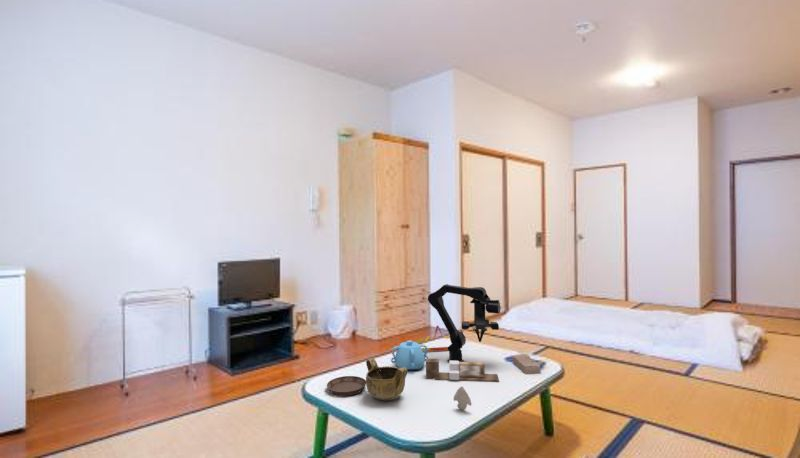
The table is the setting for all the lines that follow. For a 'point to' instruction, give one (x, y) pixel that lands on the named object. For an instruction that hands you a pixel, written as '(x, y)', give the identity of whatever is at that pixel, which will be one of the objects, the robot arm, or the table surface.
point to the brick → (526, 364)
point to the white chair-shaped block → (454, 370)
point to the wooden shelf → (434, 373)
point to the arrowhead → (462, 398)
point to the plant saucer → (346, 385)
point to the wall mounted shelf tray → (471, 369)
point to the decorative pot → (409, 355)
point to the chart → (438, 349)
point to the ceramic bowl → (384, 380)
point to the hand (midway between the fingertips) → (479, 341)
